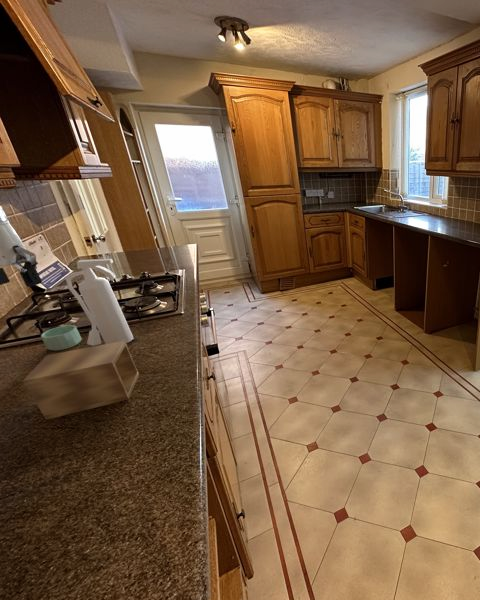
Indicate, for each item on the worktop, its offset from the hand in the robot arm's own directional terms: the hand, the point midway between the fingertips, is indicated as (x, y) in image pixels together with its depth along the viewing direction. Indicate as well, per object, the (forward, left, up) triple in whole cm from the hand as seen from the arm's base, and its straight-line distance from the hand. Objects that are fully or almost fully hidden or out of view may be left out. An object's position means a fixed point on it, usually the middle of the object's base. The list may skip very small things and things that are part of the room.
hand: (18, 284), depth 85 cm
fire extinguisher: (+16, -5, -20) cm, 26 cm away
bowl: (+3, 0, -19) cm, 20 cm away
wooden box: (+19, -32, -19) cm, 42 cm away
